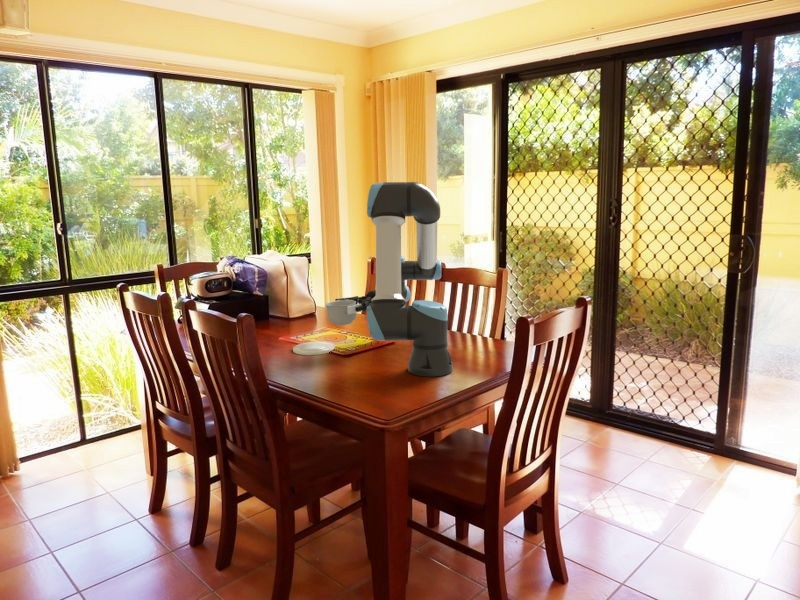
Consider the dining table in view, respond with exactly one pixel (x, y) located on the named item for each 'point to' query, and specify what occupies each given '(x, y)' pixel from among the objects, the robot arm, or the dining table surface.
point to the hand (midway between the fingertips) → (336, 308)
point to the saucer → (313, 348)
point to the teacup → (340, 312)
